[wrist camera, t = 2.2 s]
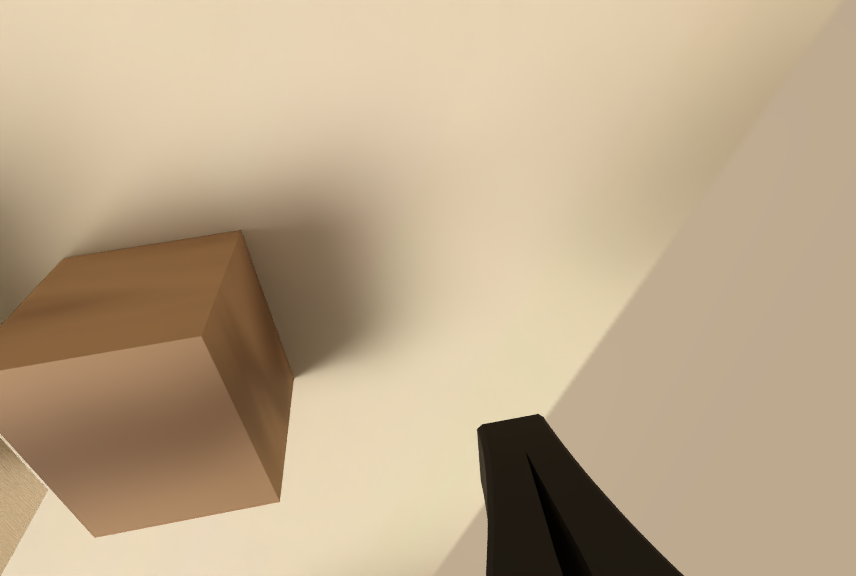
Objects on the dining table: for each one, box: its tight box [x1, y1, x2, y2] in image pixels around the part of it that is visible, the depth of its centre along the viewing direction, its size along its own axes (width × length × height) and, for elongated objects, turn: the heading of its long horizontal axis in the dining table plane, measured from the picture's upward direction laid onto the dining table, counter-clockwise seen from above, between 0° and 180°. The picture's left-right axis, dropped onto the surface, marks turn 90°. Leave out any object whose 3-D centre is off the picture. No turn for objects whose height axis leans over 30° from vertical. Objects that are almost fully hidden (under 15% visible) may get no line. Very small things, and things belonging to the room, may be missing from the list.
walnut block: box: [0, 230, 294, 537], centre depth 14 cm, size 6×5×5 cm
